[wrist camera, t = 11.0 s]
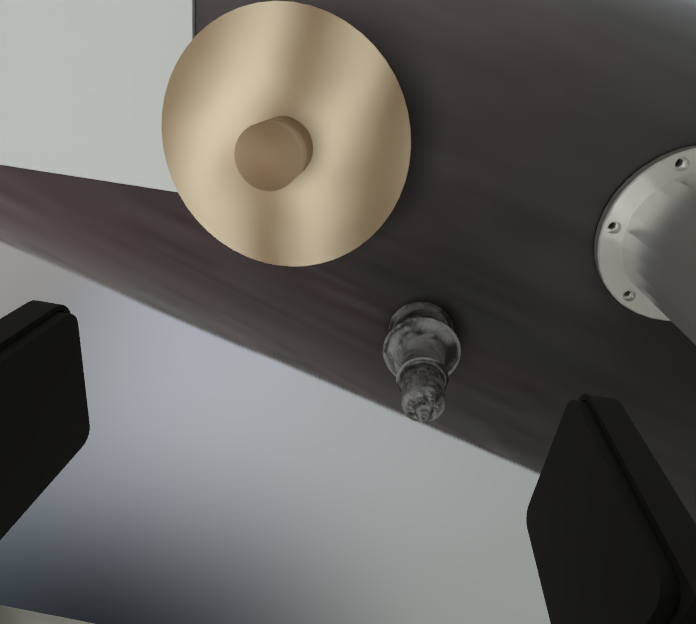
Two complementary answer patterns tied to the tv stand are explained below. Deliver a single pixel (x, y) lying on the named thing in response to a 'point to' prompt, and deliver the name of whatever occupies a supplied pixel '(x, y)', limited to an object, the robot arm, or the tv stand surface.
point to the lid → (286, 133)
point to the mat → (90, 85)
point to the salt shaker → (421, 357)
